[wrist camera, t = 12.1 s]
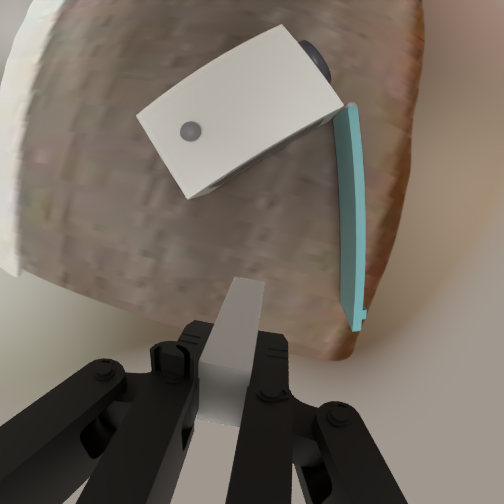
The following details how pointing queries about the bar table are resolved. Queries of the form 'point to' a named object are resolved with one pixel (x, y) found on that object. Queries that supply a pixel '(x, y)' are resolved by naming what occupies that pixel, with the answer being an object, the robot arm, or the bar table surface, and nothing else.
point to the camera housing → (240, 110)
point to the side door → (351, 213)
